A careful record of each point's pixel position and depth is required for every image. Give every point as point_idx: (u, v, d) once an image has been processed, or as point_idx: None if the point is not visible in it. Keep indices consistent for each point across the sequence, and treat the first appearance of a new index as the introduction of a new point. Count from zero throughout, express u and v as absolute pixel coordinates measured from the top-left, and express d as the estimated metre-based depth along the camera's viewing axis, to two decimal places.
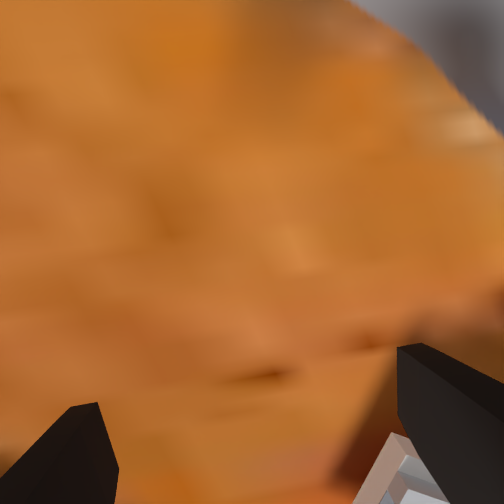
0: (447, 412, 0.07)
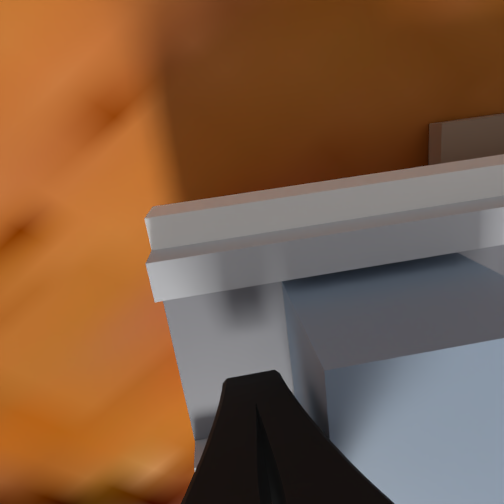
0: (265, 448, 0.07)
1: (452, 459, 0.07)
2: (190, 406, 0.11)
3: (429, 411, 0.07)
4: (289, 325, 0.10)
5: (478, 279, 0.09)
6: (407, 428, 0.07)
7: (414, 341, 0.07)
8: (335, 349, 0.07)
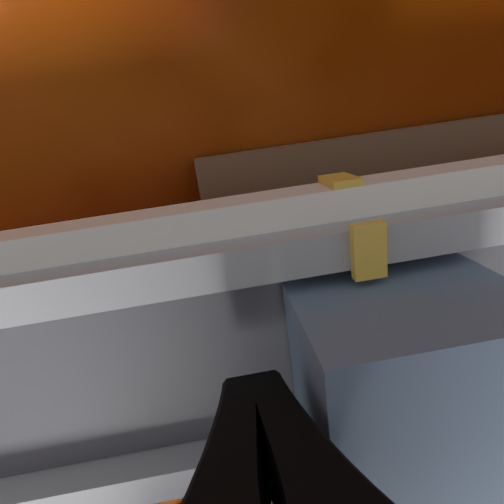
0: (265, 447, 0.07)
1: (452, 460, 0.08)
2: None
3: (429, 411, 0.07)
4: (289, 325, 0.10)
5: (478, 280, 0.09)
6: (407, 428, 0.07)
7: (413, 341, 0.07)
8: (335, 350, 0.07)
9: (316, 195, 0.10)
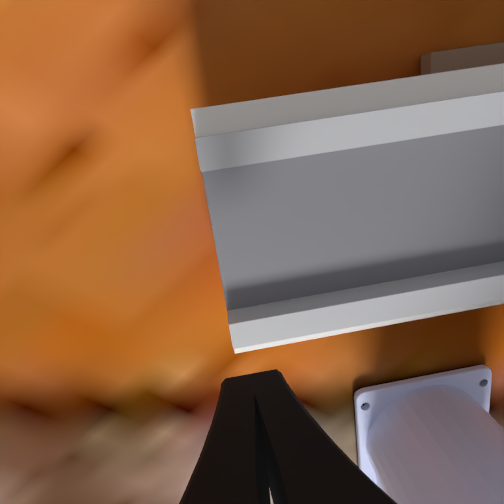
0: (267, 447, 0.07)
1: None
2: (224, 278, 0.14)
3: None
4: None
5: None
6: None
7: None
8: None
9: None
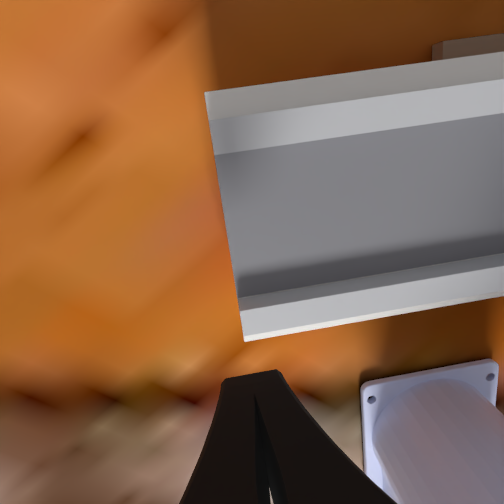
0: (267, 447, 0.07)
1: None
2: (234, 265, 0.14)
3: None
4: None
5: None
6: None
7: None
8: None
9: None
